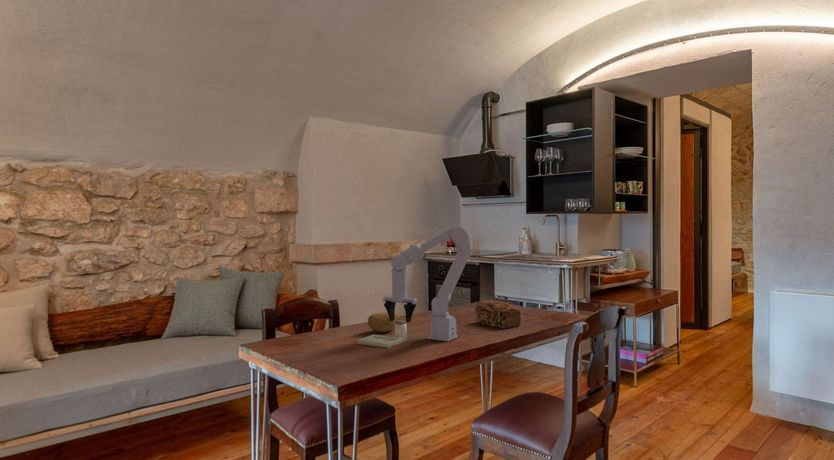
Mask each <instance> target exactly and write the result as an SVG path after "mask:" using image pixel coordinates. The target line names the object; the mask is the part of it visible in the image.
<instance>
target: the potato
mask: <svg viewBox="0 0 834 460" xmlns="http://www.w3.org/2000/svg"><path fill="white" fill-rule="evenodd" d="M395 321H399V315H398V314H397V313H395V319H394V320H393V321H390V319H389V315H388V312H378V313H372V314H370V316H368V318H367V325H368V327H369V328H370V329H371V330H372V331H374V332H378V333H388V332H389V331H391V330H392V329H395Z"/></svg>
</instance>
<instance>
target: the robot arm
mask: <svg viewBox="0 0 834 460" xmlns="http://www.w3.org/2000/svg"><path fill="white" fill-rule="evenodd" d="M451 241H452V242H453V244H454V245H455V248H456V251H457V253H456V255H455V257H454V260H453V262H452V264H451V266H450V268H449V270H448V272H447V274H446V276H445V279H444V280H443V283H442V285H441V288H440V289H439V291H438V293H437V294H436V296H435V297H434V298H432V300H431V310H432V312H430V336H427V337H426V339H427V340H433V341H444V342H449V341H452V340H454V339H456V338H458V335H457V320H456V319H457V318H456V317H455V316H453V315H450V313H449V312H448V311H449V303H450V301H451V299H452V294H453V292H454V290H455V287H456V286H457V284H458V281H459V279H460V277H461V275H462V274H463V271H464V268H465V266H466V264H467V263H468V260H469V258H470V255H471V254H472V253H471V252H472V249H471V242H470V236H469V233H468V232H467V230H466V228H465V227H464V226H462V225H453V226H452V227H451V228H447V229H445V230H443V231H440V232H439V233H437V234H436V235H434V236H433V237H431V238H429V239H428V240H426V241H424V242H423V243H421V244H417V243H415V244H413V243H412V244H410V245H409V247H408V248H406V249H405V250H403V251H402V250H401V251H399V252H398V253H399V254H397V255H394V256H393V258H392V259H391V261H390V264H391V265H390V266H391V267H392V269H391V291H392V292H391V296H385V295H384V296H383V297H382V301H383V306H384V308H385V310H386V311H387V312H386V313H388V315H389V319H390V321H393V320H394V319H395V312H396V311H395V310H396V305H397V303H399V304H403V308H404V312H405V321H406V324H408V323H411V322H412V317H413V314H414V311H415V309H416V307H417V304H418V298H415V297H411V296H410V297H409V296H408V277H407V276H408V275H407V266H408V265H412V264H413V263H416V262H418V261H419V260H420V259H422V258H423V257H424V256H425V253H426V252H427V251H428V250H430V249H432V248H434V247H436V246H438V245H439V244H441V243H445V242H451Z"/></svg>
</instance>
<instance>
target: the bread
mask: <svg viewBox="0 0 834 460" xmlns="http://www.w3.org/2000/svg"><path fill="white" fill-rule="evenodd" d="M474 312H475V320H476V322H477V323H482V324H483V325H485V324H487V325H486V326H490V325H491V326H490V327H493V326H495V327H494V328H500V329H510V328H512V327H513V328H516V327H519V326H521V319H522V318H521V311H520V310H519V307H517V306H515V305H514V304H509V303H508V302H505V301H498V300H496V301H495V300H490V299H483V300H480V301H478V302H477V303H476V304H475V309H474Z"/></svg>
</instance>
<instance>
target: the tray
mask: <svg viewBox="0 0 834 460" xmlns="http://www.w3.org/2000/svg"><path fill="white" fill-rule="evenodd" d="M404 342H405V340H404V338H399V337H395V336H392V335H391V336H388V335H380V334H371V335H368V336H366V337H362V338H360V339H359V338H358V339H357V345H361V346H362V345H363V346H369V347H377V348H383V349H390V348H393V347H395V346H398V345H400V344H403V343H404Z"/></svg>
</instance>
